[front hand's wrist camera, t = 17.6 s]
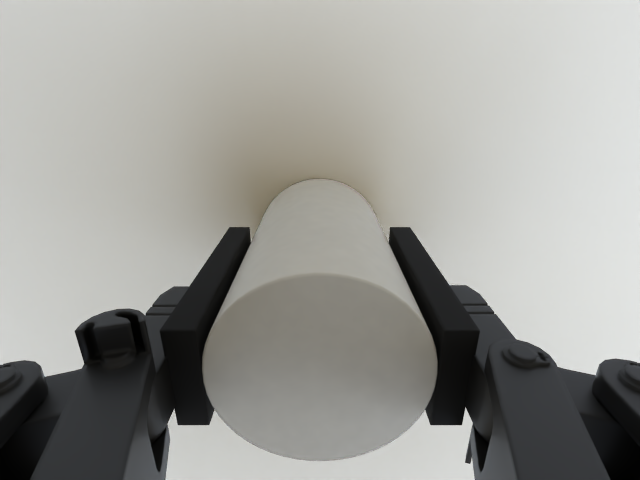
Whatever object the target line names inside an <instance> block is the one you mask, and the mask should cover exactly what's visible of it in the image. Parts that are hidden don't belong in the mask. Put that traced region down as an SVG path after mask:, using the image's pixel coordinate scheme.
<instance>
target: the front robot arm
mask: <svg viewBox="0 0 640 480" xmlns="http://www.w3.org/2000/svg"><path fill="white" fill-rule="evenodd" d="M250 244H251V240H250V227H230V228H229V229H228V231H227V232H226V234H225V235H224V236H223V238H222V239H221V241H220V242H219V244H218V245H217V247H216V248H215V250H214V251H213V253H212V254H211V256H210V257H209V259H208V260H207V262H206V263H205V264H204V266H203V267H202V269H201V270H200V272H199V273H198V275H197V276H196V278H195V279H194V281H193V282H192V284H191V285H190V287H172V288H171V289H169V290H168V291H166V292H164V293H163V294H161V295H160V296H159V297H158V299H157V300H156V301H155V302H154V304H153V305H152V307H151V308H150V309H149V310H148V311H147V313H146V316H145V315H144V314H143V313H141V312H140V311H138V310H134V309H116V310H112V311H107V312H104V313H101V314H99V315H96V316H93V317H91V318H90V319H88V320H87V321H85V322H83V323H82V324H81V325H80V326H79V327H78V328H77V329H76V330H75V334H76V337H77V340H78V344H79V347H80V350H81V354H82V357H83V360H84V366H83V368H82V369H79V370H76V371H71V372H66V373H62V374H57V375H52V376H47V377H44V374H43V371H42V368H41V366H40V365H39V364H37V363H36V362H33V361H25V360H24V361H17V362H10V363H6V364H3V365H0V480H165V477H166V469H167V460H168V452H169V443H170V436H169V430H168V425H167V423H168V421H169V419H170V417H171V414H172V412H173V410H174V408H175V413H176V418H177V423H178V425H209V424H210V421H211V418H212V415H213V412H214V407H213V406H212V404H211V402H210V400H209V398H208V395H207V393H206V389H205V386H204V382H203V374H202V356H203V351H204V346H205V343H206V340H207V338H208V335H209V333H210V330H211V328H212V326H213V324H214V322H215V319H216V317H217V315H218V313H219V311H220V309H221V307H222V304H223V302H224V300H225V298H226V296H227V294H228V291H229V289H230V287H231V285H232V283H233V281H234V279H235V276H236V274H237V272H238V270H239V268H240V266H241V263H242V261H243V259H244V257H245V255H246V253H247V250H248V248H249V246H250ZM389 245H390V247H391V249H392V252H393V254H394V256H395V258H396V260H397V262H398V264H399V267H400V269H401V271H402V273H403V275H404V277H405V279H406V282H407V284H408V286H409V288H410V290H411V292H412V294H413V297H414V299H415V301H416V303H417V305H418V307H419V309H420V312H421V314H422V316H423V318H424V320H425V322H426V324H427V327H428V329H429V331H430V333H431V335H432V338H433V341H434V344H435V347H436V353H437V359H438V373H437V379H436V385H435V388H434V391H433V394H432V397H431V399H430V401H429V403H428V405H427V407H426V409H425V410H426V413H427V416H428V419H429V422H430V425H462V422H463V416H464V411H465V407H466V409H467V411H468V413H469V415H470V417H471V420H472V422H473V425H472V430H471V435H470V440H469V444H468V449H467V454H466V461H465V463H469V464H470V463H471V458H472V459H473V468H474V476H475V480H640V363H637V362H633V361H629V360H621V359H610V360H605V361H603V362H602V363H601V364H599V367H598V370H597V373H596V375H591V374H586V373H581V372H577V371H572V370H567V369H563V368H559V367H557V365H556V363H555V362H554V360H553V359H552V358H551V356H550V355H549V354H547V353H546V352H544V351H543V350H542V349H540V348H539V347H536V346H534V345H532V344H530V343H528V342H524V341H520V340H516V339H515V338H514V336H513V335H512V334H511V333H510V331H509V330H508V329H507V328H506V326H505V325H504V324H503V323H502V321H501V320H500V319H499V318H498V316H497V315H496V314H494V311H493V310H492V309H491V308H490V306H488V305H487V303H486V301H485V300H484V299H483V298H482V296H481V295H480V294H479V293H477V292H476V291H474V290H473V289H471V288H469V287H468V286H466V285H449V284H448V283H447V281H446V280H445V278H444V277H443V275H442V274H441V272H440V271H439V269H438V268H437V266H436V265H435V263H434V262H433V261H432V259H431V258H430V256H429V255H428V253H427V252H426V250H425V249H424V247H423V246H422V244H421V243H420V241H419V240H418V238H417V237H416V235H415V234H414V233H413V231H412V230H411V228H410V227H390V235H389Z"/></svg>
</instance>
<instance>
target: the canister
mask: <svg viewBox="0 0 640 480" xmlns="http://www.w3.org/2000/svg"><path fill="white" fill-rule="evenodd" d="M437 373H438V359H437V353H436V347H435V344H434V341H433V338H432V335H431V333H430V331H429V329H428V327H427V324H426V322H425V320H424V318H423V316H422V314H421V312H420V309H419V307H418V305H417V303H416V301H415V299H414V297H413V294H412V292H411V290H410V288H409V286H408V284H407V282H406V279H405V277H404V275H403V273H402V271H401V269H400V267H399V264H398V262H397V260H396V258H395V256H394V254H393V252H392V249H391V247H390V245H389V243H388V241H387V239H386V236H385V234H384V232H383V230H382V228H381V226H380V224H379V221H378V219H377V217H376V215H375V213H374V211H373V209H372V207H371V206H370V204H369V203H368V201H367V200H366V199H365V198H364V197H363V196H362V195H361V194H360V193H359V192H357V191H356V190H355V189H353V188H352V187H350V186H348V185H346V184H344V183H341V182H338V181H334V180H329V179H310V180H305V181H301V182H298V183H296V184H293V185H291V186H290V187H288V188H286V189H285V190H283V191H282V192H281V193H279V194H278V195H277V196H276V197H275V198H274V200H273V201H272V202H271V203H270V205H269V206H268V208H267V210H266V212H265V214H264V216H263V218H262V220H261V222H260V225H259V227H258V229H257V231H256V233H255V235H254V238H253V240H252V242H251V244H250V246H249V248H248V250H247V253H246V255H245V257H244V259H243V261H242V263H241V266H240V268H239V270H238V272H237V274H236V276H235V279H234V281H233V283H232V285H231V287H230V289H229V291H228V294H227V296H226V298H225V300H224V302H223V304H222V307H221V309H220V311H219V313H218V315H217V317H216V319H215V322H214V324H213V326H212V328H211V330H210V333H209V335H208V338H207V340H206V343H205V346H204V351H203V356H202V374H203V382H204V386H205V389H206V393H207V395H208V398H209V400H210V402H211V404H212V406H213V407H214V409H215V411H216V412H217V414H218V415H219V416H220V418H221V419H222V420H223V421H224V422H225V423H226V424H227V426H229V427H230V428H231V429H232V430H233V431H234V432H235V433H236V434H238V435H239V436H241V437H242V438H243V439H245V440H246V441H248V442H250V443H252V444H253V445H255V446H257V447H259V448H261V449H264V450H266V451H268V452H271V453H274V454H277V455H281V456H284V457H289V458H294V459H300V460H309V461H329V460H340V459H346V458H351V457H355V456H359V455H362V454H366V453H368V452H371V451H374V450H376V449H378V448H380V447H382V446H384V445H386V444H388V443H390V442H391V441H393V440H395V439H396V438H398V437H399V436H400V435H402V434H403V433H404V432H405V431H407V430H408V429H409V428H410V427H411V426H412V425H413V424H414V423H415V422H416V421H417V420H418V418H419V417H420V416H421V414H422V413H423V411H424V410H425V409H426V407H427V405H428V403H429V401H430V399H431V397H432V394H433V391H434V388H435V385H436V379H437Z"/></svg>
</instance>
